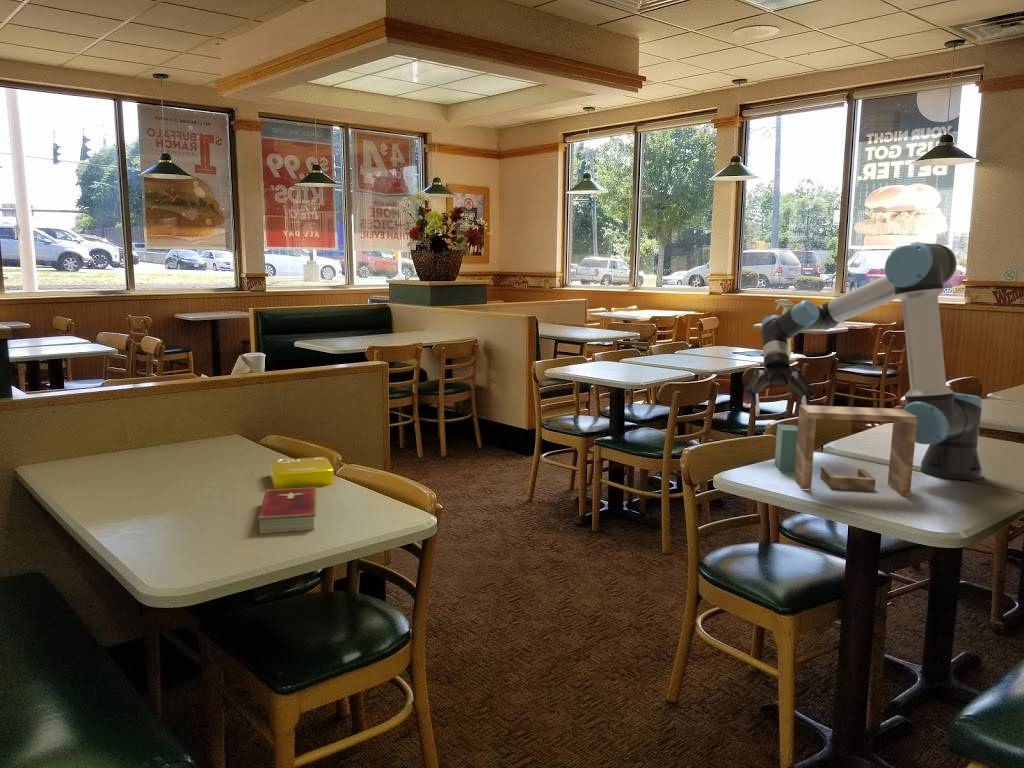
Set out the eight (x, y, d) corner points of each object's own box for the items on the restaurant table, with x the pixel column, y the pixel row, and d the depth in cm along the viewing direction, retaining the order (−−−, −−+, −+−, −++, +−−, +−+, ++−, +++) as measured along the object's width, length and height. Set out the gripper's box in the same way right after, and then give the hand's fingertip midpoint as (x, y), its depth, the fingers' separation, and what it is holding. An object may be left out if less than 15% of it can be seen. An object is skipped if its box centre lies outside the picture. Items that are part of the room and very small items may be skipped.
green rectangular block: (792, 465, 225) (795, 425, 223) (797, 472, 217) (801, 430, 215) (774, 464, 226) (777, 424, 224) (779, 471, 218) (782, 430, 216)
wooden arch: (892, 481, 209) (898, 407, 206) (909, 496, 195) (917, 416, 192) (792, 476, 213) (797, 403, 210) (802, 490, 199) (808, 412, 196)
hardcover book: (257, 536, 162) (256, 516, 161) (265, 505, 182) (264, 488, 181) (316, 532, 164) (315, 513, 164) (317, 503, 185) (317, 486, 184)
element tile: (274, 491, 193) (273, 472, 193) (269, 476, 207) (269, 458, 207) (335, 485, 199) (334, 467, 198) (326, 471, 213) (326, 454, 212)
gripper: (815, 367, 242) (822, 423, 230) (733, 364, 246) (736, 419, 234) (820, 352, 236) (828, 409, 224) (736, 349, 240) (739, 405, 228)
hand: (781, 415), depth 229 cm, fingers open, 13 cm apart
